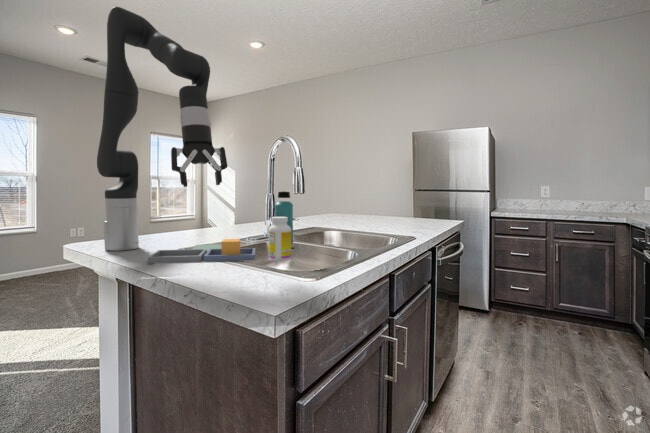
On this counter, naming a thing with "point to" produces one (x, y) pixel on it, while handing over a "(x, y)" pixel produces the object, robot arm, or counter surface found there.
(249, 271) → the counter surface
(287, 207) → the beverage bottle
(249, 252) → the navy tray
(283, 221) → the supplement bottle
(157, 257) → the grey tray
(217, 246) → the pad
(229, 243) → the orange cube
